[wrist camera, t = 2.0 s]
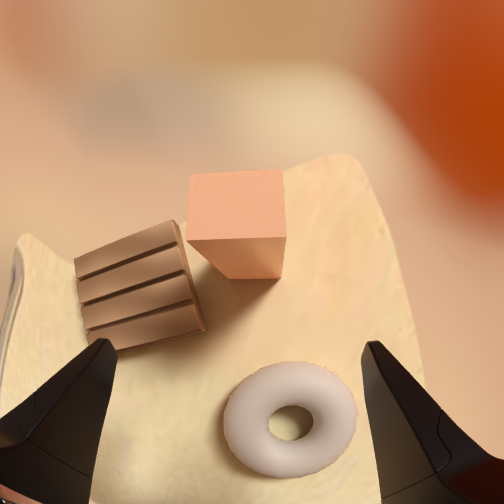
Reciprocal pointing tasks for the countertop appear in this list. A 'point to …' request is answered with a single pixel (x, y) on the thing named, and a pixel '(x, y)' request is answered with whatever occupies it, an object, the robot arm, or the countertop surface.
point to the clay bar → (239, 222)
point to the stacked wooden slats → (139, 290)
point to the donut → (289, 394)
